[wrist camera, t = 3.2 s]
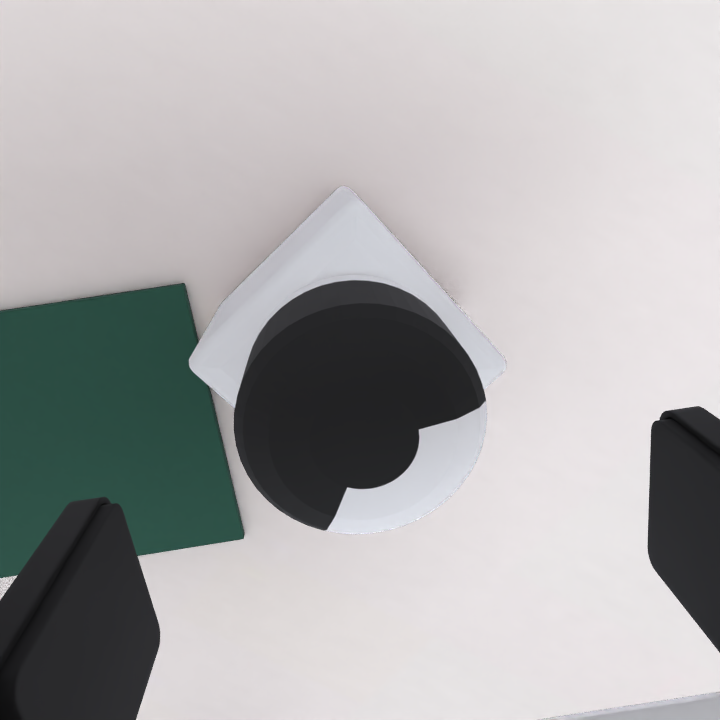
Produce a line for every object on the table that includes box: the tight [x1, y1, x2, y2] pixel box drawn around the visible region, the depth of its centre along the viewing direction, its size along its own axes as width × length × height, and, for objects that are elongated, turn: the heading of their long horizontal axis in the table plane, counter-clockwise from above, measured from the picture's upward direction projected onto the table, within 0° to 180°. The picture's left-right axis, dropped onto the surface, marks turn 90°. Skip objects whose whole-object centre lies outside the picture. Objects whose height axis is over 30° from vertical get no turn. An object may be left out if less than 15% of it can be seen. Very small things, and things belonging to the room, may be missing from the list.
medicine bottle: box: [189, 186, 507, 534], centre depth 19 cm, size 7×7×12 cm
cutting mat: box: [0, 283, 244, 578], centre depth 26 cm, size 14×12×1 cm
